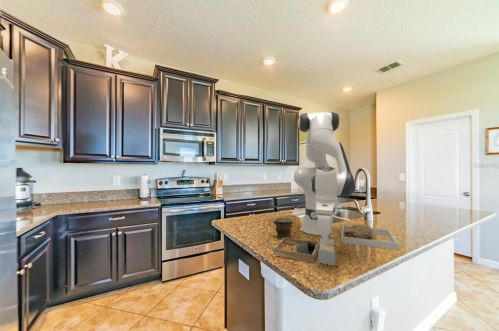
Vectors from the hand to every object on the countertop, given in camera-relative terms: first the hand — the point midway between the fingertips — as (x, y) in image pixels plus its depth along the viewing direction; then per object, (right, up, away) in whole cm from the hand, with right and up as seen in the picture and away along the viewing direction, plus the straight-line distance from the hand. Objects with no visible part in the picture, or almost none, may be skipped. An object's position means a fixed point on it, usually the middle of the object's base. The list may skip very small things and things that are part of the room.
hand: (326, 239), depth 88 cm
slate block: (0, -9, 0) cm, 9 cm away
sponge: (+29, -10, +30) cm, 43 cm away
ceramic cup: (-14, -10, +30) cm, 35 cm away
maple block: (0, -4, 0) cm, 4 cm away
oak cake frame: (-10, -9, +10) cm, 17 cm away
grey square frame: (+32, -9, +28) cm, 43 cm away
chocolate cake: (-7, -10, +8) cm, 14 cm away
